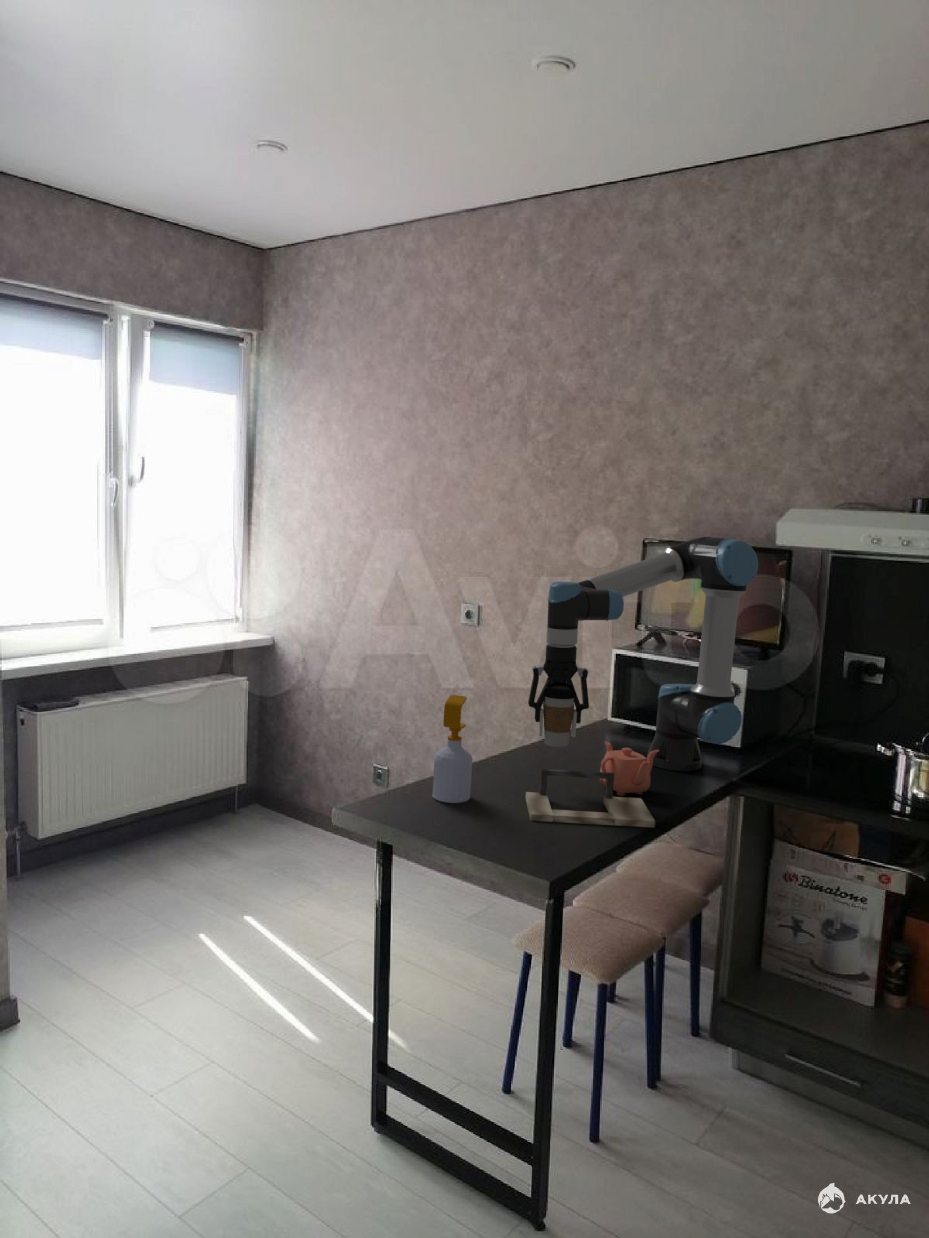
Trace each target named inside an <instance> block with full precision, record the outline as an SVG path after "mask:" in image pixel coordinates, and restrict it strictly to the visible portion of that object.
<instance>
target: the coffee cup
mask: <svg viewBox="0 0 929 1238" xmlns="http://www.w3.org/2000/svg"><path fill="white" fill-rule="evenodd" d="M574 688H575V687H574ZM574 688H571V689H569V687H568V685H567V682H566V683H562V682H557V683H556V682H553V684H552V686H551V688H549V687H546V690H545V693H544V695H543V696H545V700H544V702H543V704H542V708H543V710H544V711H543V729H544V730H543V731H544V735H543V736H544V737H543V738H544V744H545V745H546V746H548V747H552V748H564V747H568V746H569V742H570V735H571V729H572V717H573V710H574V709H575V704H574V698H575V697H576V694H577V693H576V694H575V691H576V690H575V691H574Z"/></svg>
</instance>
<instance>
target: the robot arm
mask: <svg viewBox="0 0 929 1238" xmlns="http://www.w3.org/2000/svg"><path fill="white" fill-rule="evenodd" d="M758 570H759V559H758V555H757V554H756V551H755V550H754V549H753V547H752V546H751V545H750V544H749V543H748V542H746V541H743V540H740V539H736V538H723V537H713V536H712V537H711V536H701V537H697V538H693V539H689V540H686V541H684V542H683V541H682V542H680V543H678V544H675V545H672V546H669V547H667V548H665V549H663V550H662V552H661V554H658V555H655V556H653V557H649V558H646V559H643V560H640V561H637V562H635V563H632V564H629V565H625V566H623V567H620V568H617V569H615V570H612V571H608V572H606V573H602V574H599V575H597V576H593V577H591V578H588V579H584V580H582V581H578V582H573V581H554V582H553V581H552V583H550V585H549V590H548V597H547V603H548V605H547V626H546V629H547V630H546V643H547V645H545V660H544V664H543V665H542V666H536V665H534V666H533V667H532V668H531V669H532V674H533V677H532V681H531V686H530V691H529V694H528V696H529V697H528V701H527V705H528V706H529V707H530V708H533V709H534V720H535V723H538V736H539V737H543V731H544V730H543V729H544V713H543V711H544V710H543V703H544V700H545V696H543V695H544V693H545V690H546V687H549V688H551V686H552V684H553V682H556V683H557V682H562V683H567V685H568V687H569V689H571V688H574V691H575V694H576V697H575V698H574V710H573V717H572V723H571V730H570V735H571V737H572V738H576V737H577V736H576V735H577V724H581V721H582V711H584V710H588V709H589V708H590V702H589V693H588V681H587V678H588V675H589V670H588V669H587V668H586V667H583V668H582V667H578V664H577V649H578V648H577V646H576V645H577V644H578V634H579V633H578V632H579V631H578V629H579V621H580V622H582V621H606V622H608V621H613V620H618V619H619V618H620V617H621V616H622V615H623V612H624V605H625V603H624V597H628V596H629V595H633V594H636V593H638V592H642V591H644V590H647V589H649V588H652V587H655V586H658V585H661V584H664V583H667V582H670V581H671V582H674V583H677V582H680V581H684V580H691V579H692V580H693V579H694V580H700V589H701V591H702V592H703V593H704V594H705V597H704V608H703V621H702V627H701V628H702V630H701V638H700V646H699V647H700V648H699V656H698V657H699V659H698V668H697V678H696V679H697V680H696V683H695V684H693V683H665V684H662V685H661V686H660V688H659V691H658V696H657V699H658V701H657V712H656V713H657V714H656V722H655V723H656V724H655V735H654V738H653V740H652V742H651V745H650V747H649V749H648V750H647V754H646V755H647V756H646V758H647V757H648V755H649V753H650V752H651V751H653V750H659V751H658V752H657V753H656V754H655V756H654V759H653V765H652V767H656V768H660V769H663V770H668V771H677V772H693V770H695V771H698V769H699V770H700V769H701V768H702V765H703V764H702V763H703V760H702V759H703V758H702V755H701V750H700V745H699V742H698V741H699V740H701V741H703V742H706V743H711V744H714V745H722V744H725V743H727V742H729V741H730V740H732V738H733V737H735V736H736V735H737V734H738V732H739V730H740V728H741V725H742V720H743V718H742V712H741V710H740V709H739V707H738V706H737V705H736V704H735V699H736V698H735V697H736V693H735V691H734V690H733V688H731V678H732V671H733V669H732V668H733V661H734V660H733V659H734V650H735V641H736V632H737V623H738V615H739V614H738V613H739V612H738V611H739V605H740V604H739V603H740V602H739V601H740V598H741V597H742V596H743V595H744V594H745V593H747V585H749V584H750V583H752V582H753V581H754V580H753V579H754V578H756V575H757V573H758ZM543 672H544V673H545V674H546V676H547V678H546V681H545V683H544V685H543V688H542V689H541V691H540V692H539V693H540V694H539V696H538V697H537V700H536V695H537V690H538V685H539V680H540V676H542V673H543ZM576 673H578V674H577V675H578V677H580V678H579V679H580V686H581V687H580V688H581V698H582V699H581V700H582V703H580V700H579V698H578V697H579V696H578V695H577V691H576V689H575V686H574V683H573V681H572V678H573V677H574V676H575V674H576ZM698 739H699V740H698Z"/></svg>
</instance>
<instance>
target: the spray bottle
mask: <svg viewBox="0 0 929 1238" xmlns="http://www.w3.org/2000/svg"><path fill="white" fill-rule="evenodd" d="M467 700H468V698H467V696H466V695H465V696H464V695H456V694H451V695H450V696H449V697H448V698H447V700H446V701H445V703H444V708H443V727H444V728H448V729H449V730H448V731H449V732H451V735H447V744H446V746H444V747H442V748H440V749H439V750H437V751H436V753H435V754H434V760H433V776H432V777H433V778H432V779H433V781H432V795H431V796H432V798H433V799H434V800H436V801H438V802H441V803H445V804H462V803H465V802H467V801H469V800H470V799H471V789H472V787H471V786H472V774H473V773H472V772H473V770H472V769H473V756H472V754H471V753H470V752H469V751H468V750H467V749H466V748H464V747H463V746H462V741H463V740H462V738H463V737H462V736H461V735H459V732H461V731H462V730H463V729H464V728H466V727H467V725H466V723H462V722H461V719H462V708H463V705H464V704H465V703H466V701H467Z"/></svg>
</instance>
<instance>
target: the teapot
mask: <svg viewBox="0 0 929 1238" xmlns="http://www.w3.org/2000/svg"><path fill="white" fill-rule="evenodd" d="M604 744H605V747H606V753H605V756H604V757H603V759H602V760H601V762H600V770H599V772H606V773H607V772H609V773H614V785H613V791H614V792H616V796H618V797H624V796H625V797H626V794H631V793H634V794H635V795H643V792H647V791H648V790H649V788H650V786H651V771H652V769H653V759H654V756H655V754H656V753H657V752H658V751H659V750H653V751H651V752H650V753H649V755H648V757H647V756H646V757H645V756H644V755H643V754H641V753H639V752H636V751H633V749H632V748H630V747H623V748H621V749H618V750H613V749H614V748H613V746H612V744H611V742H609V741H606V740H605V741H604ZM606 780H607V779H601V778H599V782H600V783H601V784H603V785H604V788H605V789H606Z"/></svg>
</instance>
